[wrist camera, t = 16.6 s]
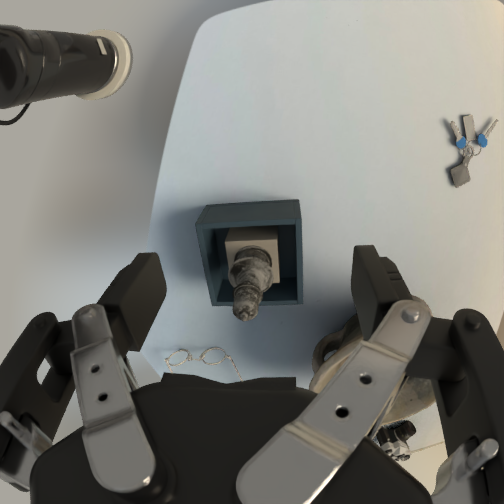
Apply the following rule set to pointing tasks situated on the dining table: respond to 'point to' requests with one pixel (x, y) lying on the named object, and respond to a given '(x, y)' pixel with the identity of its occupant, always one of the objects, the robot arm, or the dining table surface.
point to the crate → (242, 215)
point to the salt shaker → (250, 280)
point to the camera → (396, 440)
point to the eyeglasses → (201, 359)
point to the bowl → (345, 341)
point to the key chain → (461, 171)
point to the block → (255, 243)
